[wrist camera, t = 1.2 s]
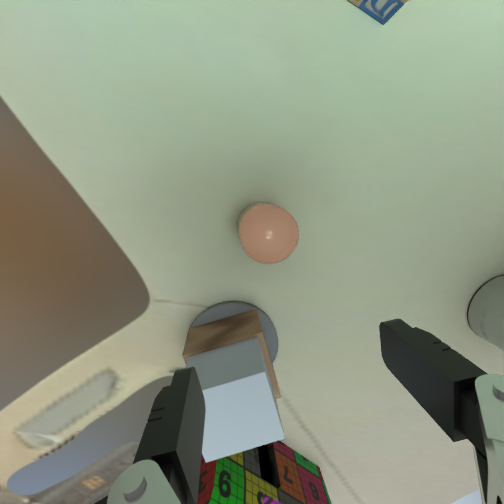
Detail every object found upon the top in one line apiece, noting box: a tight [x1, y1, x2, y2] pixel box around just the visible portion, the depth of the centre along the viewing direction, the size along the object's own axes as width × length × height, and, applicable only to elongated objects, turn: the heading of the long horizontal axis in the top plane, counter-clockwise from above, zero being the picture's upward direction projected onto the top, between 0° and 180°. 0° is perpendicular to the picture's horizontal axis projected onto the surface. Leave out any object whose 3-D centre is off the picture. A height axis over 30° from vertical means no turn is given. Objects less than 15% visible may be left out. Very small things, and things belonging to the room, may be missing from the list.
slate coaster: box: [186, 301, 278, 364], centre depth 31 cm, size 11×11×1 cm
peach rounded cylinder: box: [238, 202, 299, 264], centre depth 26 cm, size 5×5×6 cm
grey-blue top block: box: [186, 337, 285, 463], centre depth 24 cm, size 7×7×5 cm
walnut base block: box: [182, 309, 281, 399], centre depth 28 cm, size 8×8×5 cm
